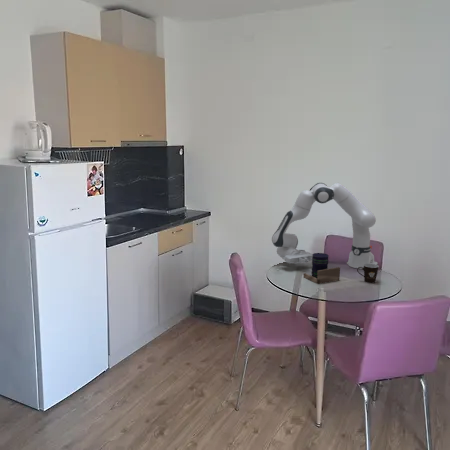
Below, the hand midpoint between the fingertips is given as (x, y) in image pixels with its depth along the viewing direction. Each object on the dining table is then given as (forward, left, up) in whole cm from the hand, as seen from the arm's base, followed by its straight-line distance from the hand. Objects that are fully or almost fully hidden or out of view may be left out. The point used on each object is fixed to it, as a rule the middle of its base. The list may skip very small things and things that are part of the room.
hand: (306, 261), depth 288 cm
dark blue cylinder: (+5, +13, -8) cm, 16 cm away
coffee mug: (-11, +37, -8) cm, 39 cm away
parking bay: (+5, +14, -7) cm, 17 cm away
